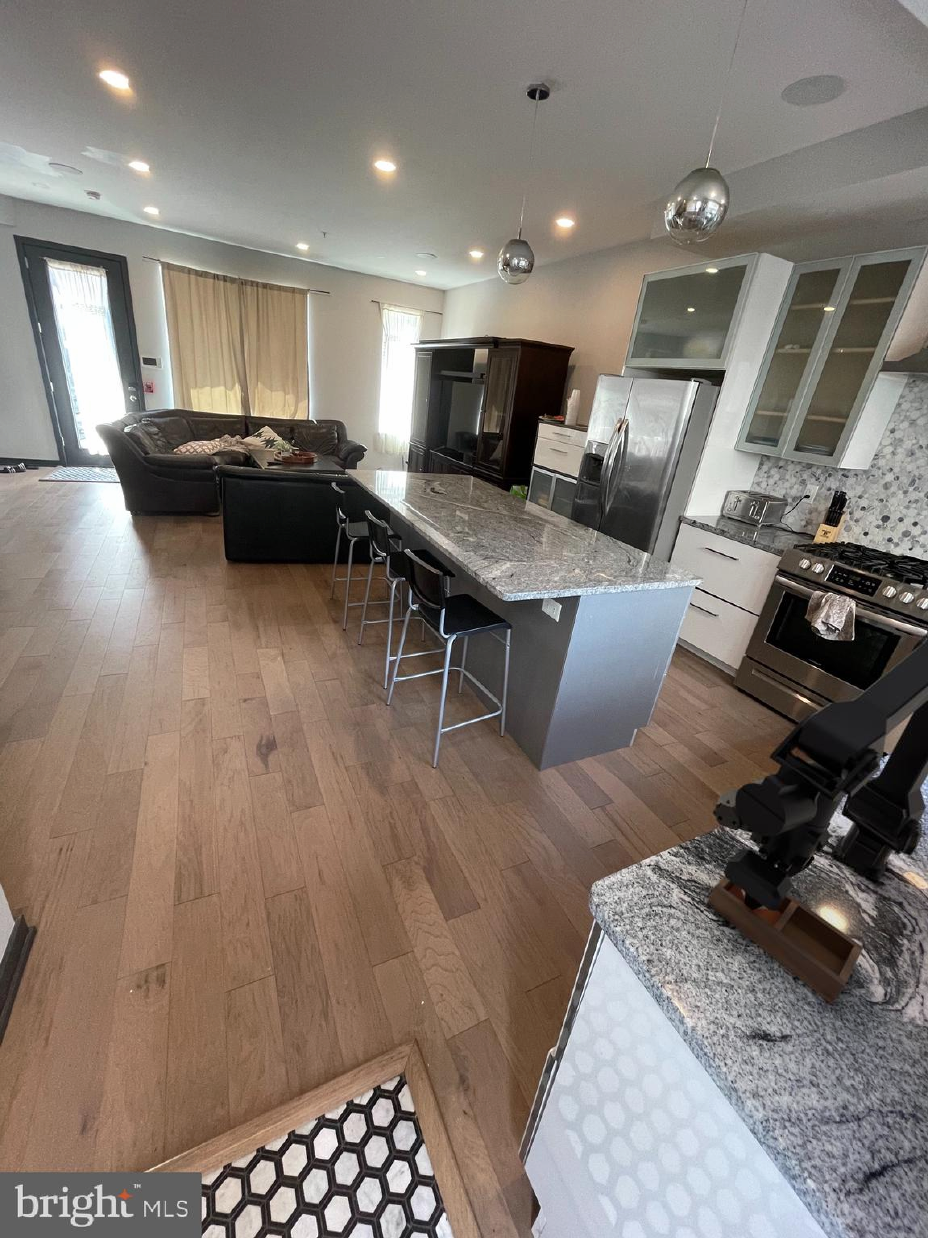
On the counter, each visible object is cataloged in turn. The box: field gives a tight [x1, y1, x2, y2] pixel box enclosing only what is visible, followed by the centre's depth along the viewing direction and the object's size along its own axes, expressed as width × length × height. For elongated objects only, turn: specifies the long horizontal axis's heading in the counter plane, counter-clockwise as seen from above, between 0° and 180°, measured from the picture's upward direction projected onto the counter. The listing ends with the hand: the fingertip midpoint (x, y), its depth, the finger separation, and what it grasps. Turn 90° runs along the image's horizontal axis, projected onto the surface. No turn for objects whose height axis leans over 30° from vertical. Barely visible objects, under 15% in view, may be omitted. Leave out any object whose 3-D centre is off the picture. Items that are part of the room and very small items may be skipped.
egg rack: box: [706, 875, 864, 1005], centre depth 66 cm, size 8×15×4 cm, turn 39°
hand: (756, 897), depth 68 cm, fingers closed on egg, 5 cm apart
